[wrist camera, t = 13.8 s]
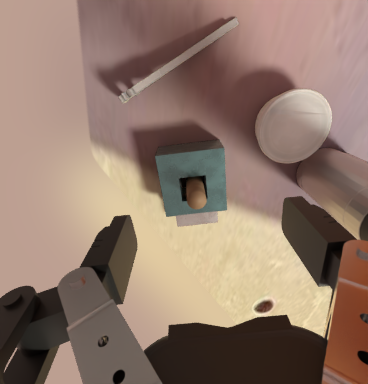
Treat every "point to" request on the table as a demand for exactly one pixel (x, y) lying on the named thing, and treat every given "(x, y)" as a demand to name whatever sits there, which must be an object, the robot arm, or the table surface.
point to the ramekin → (293, 125)
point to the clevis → (189, 167)
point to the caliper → (177, 61)
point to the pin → (195, 192)
